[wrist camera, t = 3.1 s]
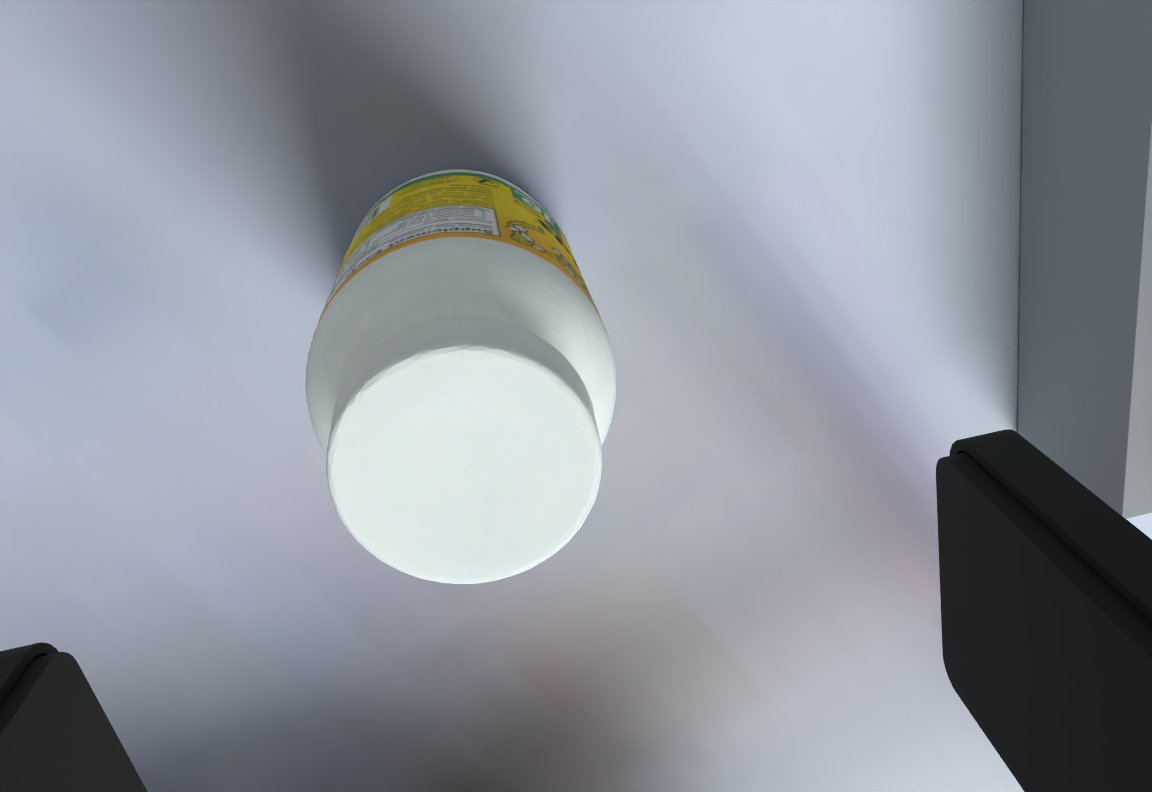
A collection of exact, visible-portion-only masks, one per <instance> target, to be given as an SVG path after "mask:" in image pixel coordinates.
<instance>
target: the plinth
mask: <svg viewBox="0 0 1152 792" xmlns="http://www.w3.org/2000/svg"><path fill="white" fill-rule="evenodd" d="M1017 433H1018V434H1020V435H1021V436H1022V437H1023V438H1025V439H1026V440H1027V441H1029V442H1030V443H1031V444H1032V445H1034V446H1035V447H1036V448H1037V449H1039V450H1040V451H1041V452H1042V453H1044V454H1045V455H1046V456H1047V457H1049V458H1050V459H1051V460H1052V461H1054V462H1055V463H1056V464H1057V465H1059V466H1060V467H1061V468H1062V469H1064V470H1065V471H1066V472H1067V473H1069V474H1070V475H1071V476H1072V477H1074V478H1075V479H1076V480H1077V481H1079V482H1080V483H1081V484H1082V485H1084V486H1085V487H1086V488H1087V489H1089V490H1090V491H1091V492H1092V493H1094V494H1095V495H1096V496H1097V497H1099V498H1100V499H1101V500H1102V501H1104V502H1105V503H1106V504H1107V505H1109V506H1110V507H1111V508H1113V509H1114V510H1115V511H1116V512H1118V513H1119V514H1120V515H1121V516H1123V517H1124V518H1125V519H1126V518H1130V517H1134V516H1139V515H1143V514H1147V513H1151V512H1152V0H1024V22H1023V90H1022V158H1021V226H1020V294H1019V361H1018V429H1017Z"/></svg>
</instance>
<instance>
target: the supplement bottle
mask: <svg viewBox="0 0 1152 792" xmlns="http://www.w3.org/2000/svg"><path fill="white" fill-rule="evenodd" d="M306 397H307V404H308V410H309V415H310V418H311V422H312V425H313V428H314V431H315V434H316V436H317V438H318V440H319V443H320V445H321V447H322V448H323V450H324V452H325V454H326V455H327V460H326V470H327V480H328V487H329V490H330V493H331V497H332V500H333V502H334V505H335V508H336V510H337V512H338V514H339V516H340V518H341V520H342V521H343V523H344V525H345V526H346V528H347V529H348V530H349V532H350V533H351V534H352V535H353V536H354V538H355V539H356V540H357V541H358V542H359V543H360V544H361V545H362V546H363V547H364V548H366V549H367V550H368V551H369V552H370V553H371V554H373V555H374V556H375V557H377V558H378V559H379V560H381V561H382V562H384V563H386V564H388V565H390V566H392V567H394V568H396V569H398V570H399V571H402V572H404V573H407V574H409V575H412V576H415V577H418V578H421V579H425V580H430V581H436V582H441V583H453V584H476V583H483V582H490V581H495V580H499V579H503V578H506V577H510V576H513V575H516V574H519V573H521V572H523V571H526V570H528V569H530V568H532V567H534V566H536V565H537V564H539V563H541V562H542V561H544V560H546V559H547V558H549V557H550V556H552V555H553V554H554V553H556V552H557V551H558V550H559V549H561V548H562V547H563V546H564V545H565V544H566V543H567V542H568V541H569V540H570V539H571V538H572V537H573V536H574V534H575V533H576V532H577V531H578V530H579V528H580V527H581V526H582V524H583V522H584V521H585V519H586V517H587V516H588V514H589V512H590V510H591V508H592V506H593V504H594V502H595V499H596V495H597V492H598V488H599V484H600V479H601V472H602V451H601V446H602V444H603V442H604V440H605V437H606V435H607V432H608V429H609V426H610V423H611V420H612V416H613V410H614V405H615V398H616V370H615V361H614V357H613V352H612V347H611V344H610V341H609V338H608V334H607V331H606V329H605V327H604V324H603V322H602V320H601V317H600V315H599V312H598V310H597V308H596V306H595V304H594V302H593V300H592V298H591V296H590V293H589V291H588V288H587V286H586V284H585V282H584V279H583V277H582V275H581V273H580V270H579V268H578V266H577V263H576V261H575V259H574V257H573V255H572V252H571V249H570V247H569V245H568V243H567V241H566V239H565V237H564V235H563V233H562V232H561V230H560V228H559V227H558V225H557V224H556V222H555V221H554V219H553V218H552V217H551V216H550V214H549V213H548V212H547V211H546V210H545V209H544V208H543V207H542V206H541V205H540V204H539V203H538V202H536V201H535V200H534V199H533V198H532V197H531V196H529V195H528V194H527V193H525V192H524V191H523V190H521V189H520V188H518V187H517V186H515V185H514V184H512V183H510V182H509V181H507V180H505V179H502V178H500V177H497V176H495V175H493V174H489V173H485V172H480V171H474V170H463V169H454V170H442V171H437V172H432V173H428V174H424V175H421V176H418V177H416V178H413V179H411V180H409V181H407V182H405V183H403V184H401V185H399V186H397V187H396V188H394V189H393V190H392V191H390V192H389V193H387V194H386V195H385V196H384V197H382V198H381V199H380V200H379V201H378V202H377V203H376V204H375V205H374V206H373V207H372V208H371V210H370V211H369V212H368V214H367V215H366V216H365V217H364V219H363V220H362V222H361V224H360V225H359V227H358V229H357V231H356V233H355V235H354V237H353V239H352V242H351V244H350V246H349V248H348V250H347V252H346V254H345V257H344V260H343V262H342V265H341V268H340V270H339V273H338V275H337V278H336V280H335V283H334V285H333V287H332V290H331V292H330V295H329V297H328V299H327V302H326V304H325V307H324V309H323V312H322V314H321V317H320V319H319V322H318V325H317V328H316V330H315V333H314V336H313V339H312V343H311V347H310V350H309V354H308V361H307V368H306Z"/></svg>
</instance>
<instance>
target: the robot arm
mask: <svg viewBox="0 0 1152 792" xmlns="http://www.w3.org/2000/svg"><path fill="white" fill-rule="evenodd" d="M936 486H937V513H938V539H939V566H940V593H941V620H942V646H943V660H944V664H945V668H946V671H947V674H948V677H949V679H950V682H951V684H952V686H953V688H954V689H955V691H956V693H957V694H958V696H959V697H960V698H961V700H962V701H963V703H964V704H965V706H966V707H967V709H968V710H969V712H970V713H971V714H972V716H973V717H974V719H975V720H976V722H977V723H978V725H979V726H980V728H981V729H982V730H983V732H984V733H985V735H986V736H987V738H988V739H989V741H990V742H991V744H992V745H993V746H994V748H995V749H996V751H997V752H998V754H999V755H1000V757H1001V758H1002V760H1003V761H1004V762H1005V764H1006V765H1007V767H1008V768H1009V770H1010V771H1011V773H1012V774H1013V776H1014V777H1015V778H1016V780H1017V781H1018V783H1019V784H1020V786H1021V787H1022V789H1023V790H1024V792H1152V540H1151V539H1150V538H1149V537H1148V536H1146V535H1145V534H1144V533H1143V532H1141V531H1140V530H1139V529H1138V528H1136V527H1135V526H1134V525H1133V524H1131V523H1130V522H1129V521H1128V520H1126V519H1125V518H1124V517H1123V516H1121V515H1120V514H1119V513H1118V512H1116V511H1115V510H1114V509H1113V508H1111V507H1110V506H1109V505H1107V504H1106V503H1105V502H1104V501H1102V500H1101V499H1100V498H1099V497H1097V496H1096V495H1095V494H1094V493H1092V492H1091V491H1090V490H1089V489H1087V488H1086V487H1085V486H1084V485H1082V484H1081V483H1080V482H1079V481H1077V480H1076V479H1075V478H1074V477H1072V476H1071V475H1070V474H1069V473H1067V472H1066V471H1065V470H1064V469H1062V468H1061V467H1060V466H1059V465H1057V464H1056V463H1055V462H1054V461H1052V460H1051V459H1050V458H1049V457H1047V456H1046V455H1045V454H1044V453H1042V452H1041V451H1040V450H1039V449H1037V448H1036V447H1035V446H1034V445H1032V444H1031V443H1030V442H1029V441H1027V440H1026V439H1025V438H1023V437H1022V436H1021V435H1020V434H1018V433H1017V432H1015V431H1013V430H1002V431H997V432H993V433H988V434H984V435H979V436H975V437H970V438H966V439H961V440H957V441H955V442H954V443H953V444H952V447H951V450H950V456H947V457H943V458H940V459H939V460H938V462H937V466H936ZM0 792H147V790H146V788H145V786H144V785H143V783H142V781H141V779H140V777H139V775H138V774H137V772H136V770H135V768H134V766H133V764H132V762H131V761H130V759H129V757H128V755H127V753H126V751H125V750H124V748H123V746H122V744H121V742H120V740H119V738H118V737H117V735H116V733H115V731H114V729H113V727H112V726H111V724H110V722H109V720H108V718H107V716H106V714H105V713H104V711H103V709H102V707H101V705H100V703H99V702H98V700H97V698H96V696H95V694H94V692H93V690H92V689H91V687H90V685H89V683H88V681H87V679H86V678H85V676H84V674H83V672H82V670H81V668H80V666H79V665H78V663H77V661H76V660H75V659H74V657H73V656H72V655H70V654H69V653H66V652H58V650H57V649H56V648H55V647H53V646H52V645H50V644H48V643H36V644H32V645H27V646H23V647H18V648H14V649H9V650H5V651H0Z"/></svg>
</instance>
